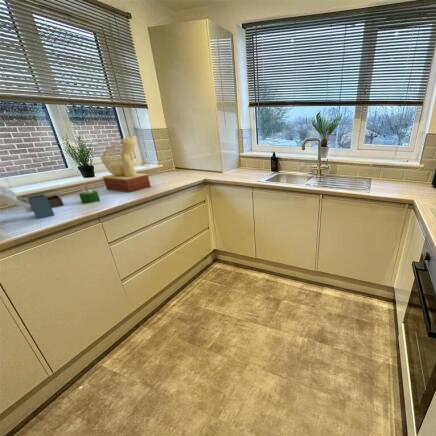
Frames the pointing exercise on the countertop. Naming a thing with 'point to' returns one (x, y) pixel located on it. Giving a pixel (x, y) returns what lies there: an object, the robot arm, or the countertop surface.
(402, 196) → the countertop surface
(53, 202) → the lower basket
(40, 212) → the grey rectangular block
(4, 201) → the robot arm
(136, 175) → the cream sculpture
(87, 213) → the countertop surface
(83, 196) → the candle
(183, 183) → the countertop surface
